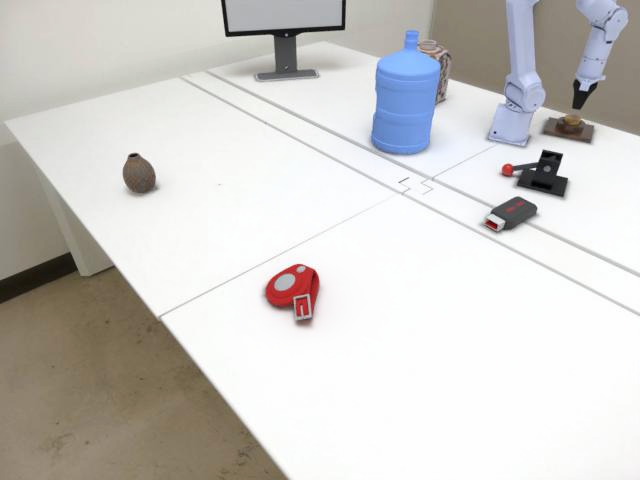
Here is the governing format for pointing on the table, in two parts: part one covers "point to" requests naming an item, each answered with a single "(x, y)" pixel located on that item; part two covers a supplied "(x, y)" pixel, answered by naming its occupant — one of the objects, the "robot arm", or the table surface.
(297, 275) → the tracker holder
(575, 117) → the button
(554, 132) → the button block
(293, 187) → the table surface
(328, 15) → the computer monitor
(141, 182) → the vase
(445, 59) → the decorative jar
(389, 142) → the water jug
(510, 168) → the lever
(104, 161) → the table surface
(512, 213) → the usb drive
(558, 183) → the bracket
